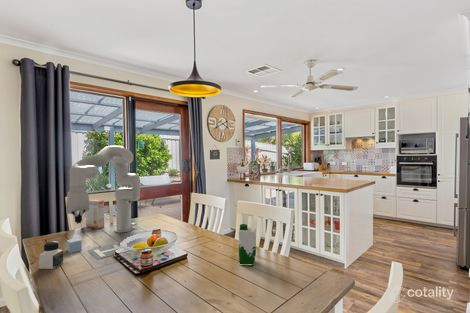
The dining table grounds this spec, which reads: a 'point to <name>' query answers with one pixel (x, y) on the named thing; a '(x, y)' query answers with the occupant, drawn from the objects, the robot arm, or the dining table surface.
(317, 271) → the dining table surface
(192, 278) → the dining table surface
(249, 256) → the milk carton
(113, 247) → the letter card
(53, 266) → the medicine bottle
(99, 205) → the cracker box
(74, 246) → the blue cube
